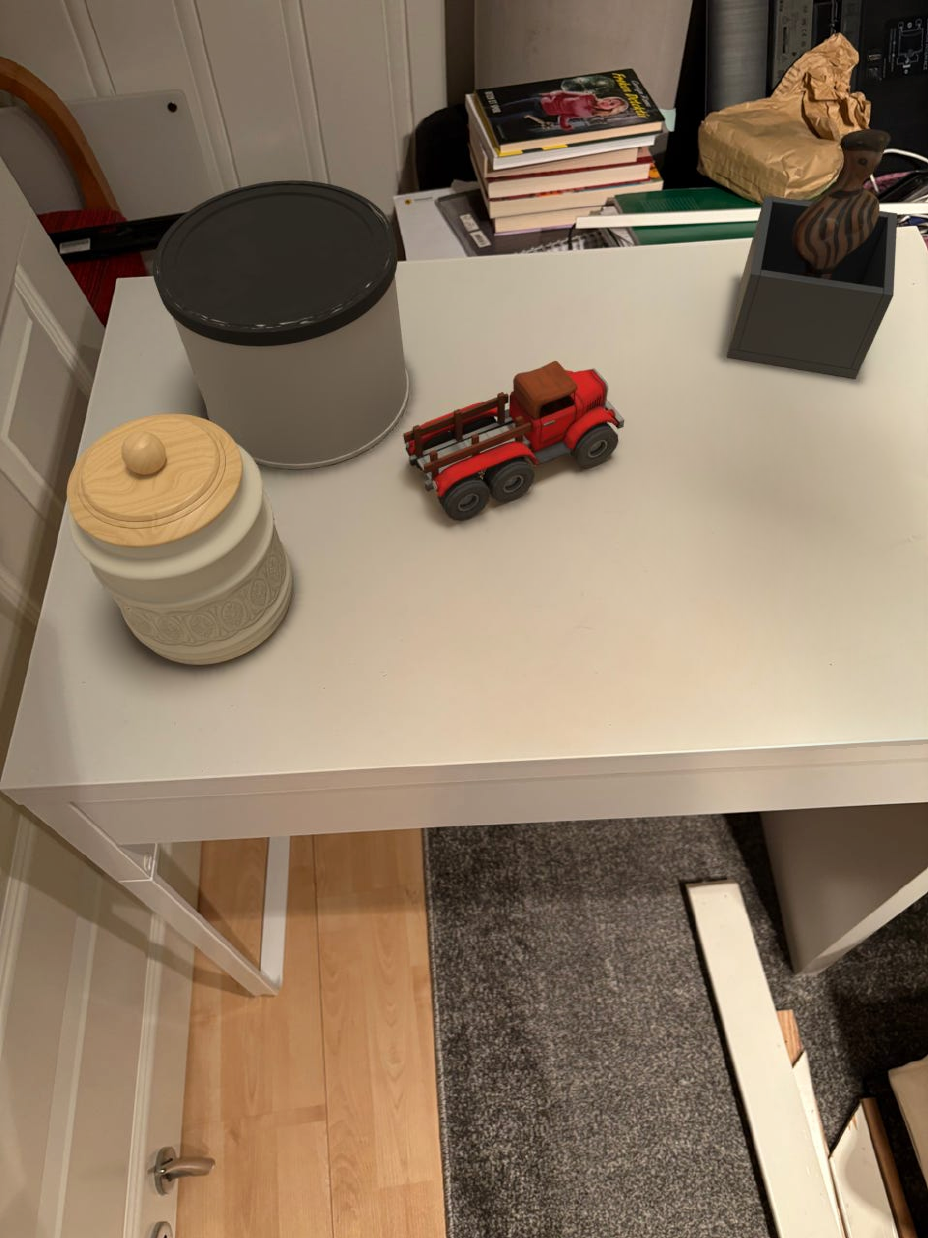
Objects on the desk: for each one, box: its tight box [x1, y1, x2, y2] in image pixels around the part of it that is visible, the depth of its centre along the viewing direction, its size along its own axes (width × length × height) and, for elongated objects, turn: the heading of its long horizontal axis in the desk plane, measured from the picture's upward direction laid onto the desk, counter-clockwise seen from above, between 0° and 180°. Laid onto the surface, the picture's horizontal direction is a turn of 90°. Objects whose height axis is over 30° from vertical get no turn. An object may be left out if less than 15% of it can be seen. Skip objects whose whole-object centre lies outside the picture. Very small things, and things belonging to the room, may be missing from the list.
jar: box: [66, 413, 293, 666], centre depth 62 cm, size 13×13×18 cm
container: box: [152, 179, 410, 470], centre depth 75 cm, size 19×19×15 cm
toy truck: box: [402, 360, 625, 522], centre depth 73 cm, size 8×18×8 cm, turn 117°
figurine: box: [790, 128, 892, 280], centre depth 75 cm, size 7×5×18 cm
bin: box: [726, 195, 898, 379], centre depth 80 cm, size 12×12×9 cm
